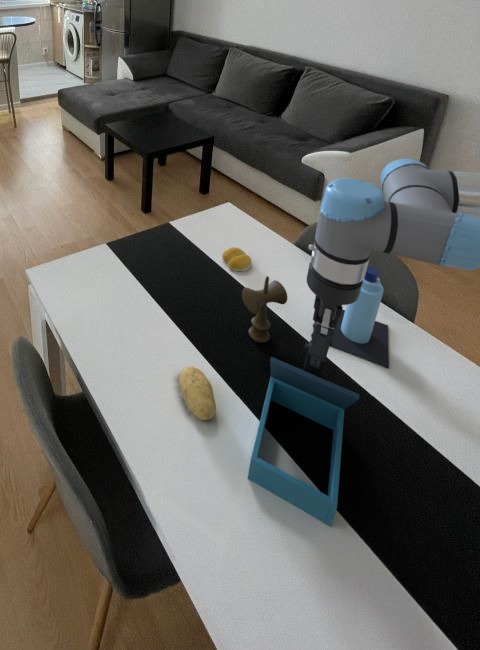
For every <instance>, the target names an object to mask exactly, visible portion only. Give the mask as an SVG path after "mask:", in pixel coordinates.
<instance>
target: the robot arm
mask: <svg viewBox="0 0 480 650" xmlns="http://www.w3.org/2000/svg"><path fill="white" fill-rule="evenodd" d="M319 206H320V208H319V212H318V217H317V218H318V219H317V223H316V230H315V235H314V241H313V244H311V243H310V244H309V245H308V247H307V248H308V250H309V251H312V252H311V257H310V262H309V264H308V269H307V274H306V284H307V286H308V288H309V289H310V291H311V292H312V293H313V294H314V296H315V298H314V303H313V310H314V312H313V316H312V320H313V321H314V323H312V329H313V330H312V333H311V334H310V337H311V339H310V340H309V342H307V341H305V344H304V349H306V350H307V353H306V358H305V362H304V368H303V371H306V372H308V373H310V374H313V375H315V376H317V377H320V378H322V374H323V369H324V366H325V362H326V361H327V359H328V353H329V349H330V347H331V348H333V347H332V340H331V339H332V337H333V335H334V329H335V328H336V326H337V322H338V318H340V317H341V314H342V309H343V308H344V307H343V306H346V305H348V304H352V303H354V302H355V301H357V299H358V298H359V295H360V291H361V287H362V283H363V279H364V277H365V274H366V270H367V267H369V262H370V257H371V252H372V251H375V252H380V253H384V254H387V255H388V254H390V255H393V256H398V257H402V258H407V259H410V260H413V261H419V262H424V263H427V264H432V265H435V266H439V267H441V268H444V267H447V268H453V269H459V270H460V269H461V270H465V271H475V270H478V269H479V268H480V172H473V171H471V172H470V171H453V170H441V169H440V170H439V169H431V168H430V167H428V166H427V165H426V164H425V163H423V162H422V161H419V160H416V159H413V158H400V159H396V160H393V161H391V162H389V163H388V164H386V166H384V167H383V169H382V171H381V173H380V188H379V187H378V186H377V185H375V184H373V183H372V182H365V181H363V180H362V179H359V178H354V177H353V178H352V177H341V178H337V179H333V180H331V181H330V182H329V183H328V184H327V185H326V187H325V190H324V194H323V197H322V201H321V203H320V205H319ZM343 310H344V309H343Z"/></svg>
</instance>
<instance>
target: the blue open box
mask: <svg viewBox="0 0 480 650" xmlns="http://www.w3.org/2000/svg"><path fill="white" fill-rule="evenodd" d="M272 402H273V403H276V404H278V405H280V406H282V407H284V408H287V409H288V410H290V411H292V412H294V413H296V414H298V415H301V416H303V417H305V418H307V419H309V420H311V421H314V422H315V423H317V424H320V425H322V426H324V427H326V428H328V429H330V430H332V432H333V433H332V434H333V435H332V444H331V454H330V463H329V464H330V465H329V477H328V486H327V487H328V488H327V494H325V493H323V492H321V491H320V490H318V489H316V488H314V487H313V486H311V485H309V484H307V483H305V482H304V481H302V480H300V479H297V478H296V477H294V476H293V475H291V474H289V473H287V472H285V471H283V470H282V469H279V468H278V467H276V466H274V465H272V464H271V463H269V462H267V461H265V460H263V459H262V458H259V456H260V450H261V447H262V442H263V438H264V433H265V430H266V429H265V428H266V425H267V420H268V416H269V412H270V408H271V403H272ZM344 421H345V410H344V409H342V408H339V407H337V406H335V405H333V404H330V403H328V402H326V401H324V400H322V399H319V398H317V397H315V396H313V395H311V394H308V393H306V392H304V391H302V390H299V389H297V388H295V387H293V386H291V385H288V384H286V383H284V382H282V381H279V380H277V379H275V378H273V377H271V376H270V379H269V382H268V387H267V391H266V394H265V399H264V403H263V407H262V411H261V416H260V419H259V423H258V427H257V432H256V436H255V440H254V443H253V448H252V452H251V456H250V462H249V467H248V474H247V479H248V480H249V481H250V482H253V483H254V484H256V485H258V486H259V487H261V488H263V489H264V490H267V491H268V492H270V493H272V494H273V495H275V496H277V497H278V498H280V499H282V500H284V501H285V502H287V503H289V504H290V505H293V506H294V507H295V508H297V509H299V510H300V511H302V512H304V513H306V514H307V515H309V516H311V517H313V518H315V519H316V520H318V521H320V522H322V523H323V524H325V525H326V526H328V527H330V528H331V527H332V526H333V522H334V518H335V516H336V511H337V509H338V504H339V503H338V502H339V501H338V500H339V486H340V473H341V459H342V449H343V447H342V446H343V433H344V432H343V431H344Z"/></svg>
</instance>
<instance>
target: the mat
mask: <svg viewBox="0 0 480 650" xmlns="http://www.w3.org/2000/svg"><path fill="white" fill-rule="evenodd" d="M344 313H345V309H342V314H341V317H340V318H338V322H337V326H336V328H335V329H334V335H333V337H332V339H331V340H332V347H331V348H334V349H337V350H339V351H342V352H345V353H347V354H350V355H352V356H355V357H357V358H359V359H362V360H365V361H367V362H370V363H373V364H375V365H378V366H381V367H383V368H385V369H387V370H388V369H390V353H389V352H390V351H389V349H390V347H389V325H388V324H385V323H383V322H380V321H378V320H375V323H374V327H373V330H372V334H371V337H370V340H369V341H368V342H367V343H363V344H362V343H356V342H353V341H351V340H350V339H348V338H347V337H346V336H345V335H344V334H343V333H342V331H341V325H342V321H343V317H344Z"/></svg>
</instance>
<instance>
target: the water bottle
mask: <svg viewBox="0 0 480 650" xmlns="http://www.w3.org/2000/svg"><path fill="white" fill-rule="evenodd" d="M379 273H380V272H379V270H378V269H376V268H375V267H373V266H367V270H366V274H365V277H364V279H363V283H362V287H361V291H360V295H359V298H358V299H357V301H355V302H354V303H352V304H348V305H345V309H344V310H345V313H344V317H343V321H342V325H341V331H342V333H343V334H344V335H345V336H346V337H347V338H348V339H350V340H351V341H353V342H356V343H362V344H363V343H367V342H368V341H369V340H370V337H371V334H372V330H373V327H374V323H375V321H377V320H376V319H377V316H378V312H379V309H380V305H381V302H382V298H383V295H384V292H385V289H384V287H383V285H382V284H381V279H380V278H379Z"/></svg>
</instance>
